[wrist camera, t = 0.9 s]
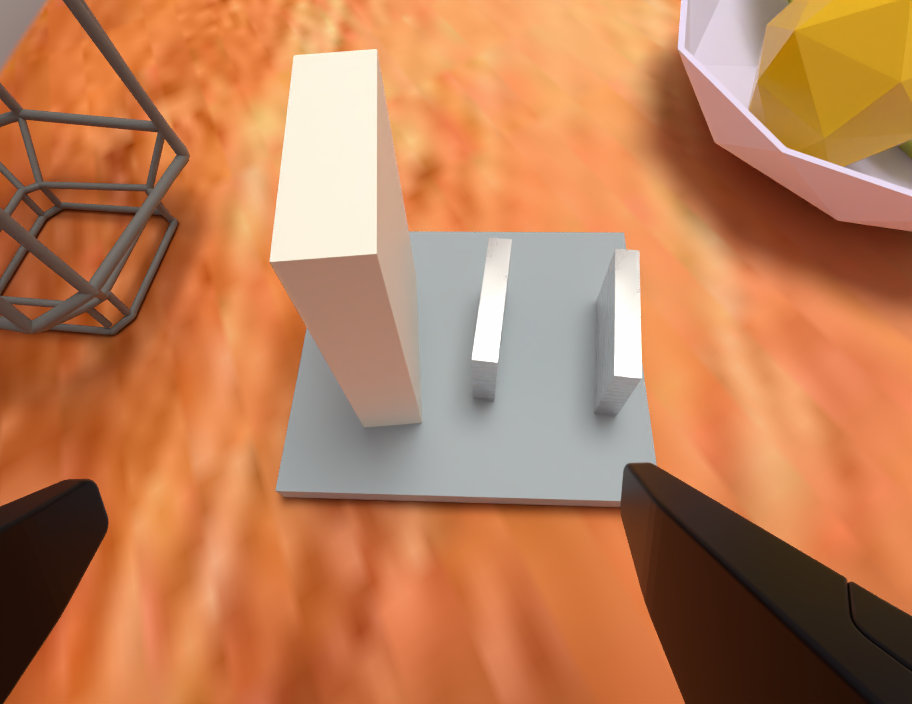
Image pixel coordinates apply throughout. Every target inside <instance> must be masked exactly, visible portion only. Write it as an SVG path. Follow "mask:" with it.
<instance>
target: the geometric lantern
mask: <svg viewBox="0 0 912 704" xmlns="http://www.w3.org/2000/svg"><path fill="white" fill-rule="evenodd" d="M63 1H64V3H65V4H66V5H67V7H68V8H69V9H70V11H71V12H72V13H73V15H74V16H75V18H76V19H77V20H78V22H79V23H80V24H81V26H82V27H83V28H84V30H85V31H86V32H87V34H88V35H89V36H90V38H91V39H92V41H93V42H94V43H95V45H96V46H97V47H98V49H99V50H100V51H101V53H102V54H103V55H104V57H105V58H106V59H107V61H108V62H109V64H110V65H111V66H112V68H113V69H114V70H115V72H116V73H117V74H118V76H119V77H120V78H121V80H122V81H123V82H124V84H125V85H126V87H127V88H128V89H129V91H130V92H131V93H132V95H133V96H134V97H135V99H136V100H137V101H138V103H139V104H140V105H141V107H142V108H143V110H144V111H145V112H146V114H147V115H148V117H149V118H150V119H151V121H146V120H135V119H124V118H113V117H102V116H91V115H80V114H69V113H59V112H48V111H37V110H26V109H23V108H22V107H21V106H20V105H19V104H18V103H17V101H16V100H15V99H14V98H13V97H12V96H11V95H10V93H9V92H8V91H7V90H6V89H5V88H4V87H3V86H2V84H1V83H0V99H1V100H2V101H3V102H4V103H5V104H6V105H7V106H8V108H9V109H10V110H11V112H7V113H4V114H1V115H0V127H2V126H5V125H8V124H11V123H14V122H17V121H18V123H19V126H20V130H21V133H22V137H23V140H24V143H25V147H26V150H27V154H28V157H29V161H30V164H31V168H32V171H33V175H34V178H35V182H36V183H34V184H31V185H28V186H24V185H23V184H22V183H21V182H20V181H19V180H18V179H17V178H16V177H15V176H14V175H13V174H12V173H11V172H10V171H9V170H8V169H7V168H6V167H5V166H4V165H3V164H2V163H1V162H0V172H1V173H2V174H3V175H4V176H5V177H6V178H7V179H8V180H9V181H10V182H11V183H12V184H13V185H14V186H15V187H16V188H17V189H18V190H17V192H16V193H15V195H14V196H13V198H12V199H11V201H10V202H9V204H8V205H7V207H6V208H5V210H3V209H1V208H0V231H1V230H2V229H3V230H4V231H5V232H6V233H7V234H9V235H10V236H11V237H12V238H14V239H15V240H16V241H17V242H18V243H20V244H21V246H20V248H19V249H18V251H17V253H16V254H15V256H14V258H13V259H12V261H11V262H10V264H9V266H8V267H7V269H6V271H5V272H4V274H3V275H2V277H1V279H0V295H1V293H2V292H3V290H4V288H5V287H6V285H7V283H8V282H9V280H10V278H11V277H12V275H13V273H14V272H15V270H16V268H17V267H18V265H19V264H20V262H21V260H22V259H23V257H24V255H25V254H26V252H27V250H28V251H29V252H31V253H32V254H33V255H34V256H36V257H37V258H38V259H39V260H41V261H42V262H43V263H44V264H46V265H47V266H48V267H49V268H51V269H52V270H53V271H54V272H56V273H57V274H58V275H59V276H61V277H62V278H63V279H64V280H65V281H67V282H68V283H69V284H70V285H72V286H73V287H74V288H75V289H77V290H78V291H79V292H78V293H76V294H75V295H73V296H72V297H70V298H68V299H67V300H65V301H60V300H47V299H34V298H21V297H8V296H0V314H1V315H2V316H0V329H5V330H11V331H16V332H22V333H27V334H35V333H38V332H44V331H46V330H59V331H70V332H82V333H93V334H104V335H110V334H111V335H115V334H116V333H118V332H119V331H120V330H121V329H122V328H124V327H125V326H126V325H127V324H128V323H130V322H131V321H132V320H133V319H134V318H135V317H136V314H137V312H138V310H139V308H140V305H141V303H142V301H143V299H144V297H145V294H146V292H147V290H148V288H149V286H150V284H151V281H152V279H153V277H154V275H155V273H156V270H157V268H158V266H159V264H160V262H161V260H162V257H163V255H164V253H165V251H166V249H167V247H168V244H169V242H170V240H171V238H172V236H173V233H174V231H175V229H176V227H177V224H178V220H177V219H175V218H174V217H173V216H172V215H171V214H170V213H169V211H168V210H167V209H166V208H165V207H164V205H163V204H162V203H161V202H160V201H161V200H162V198H163V197H164V195H165V194H166V192H167V191H168V189H169V188H170V186H171V185H172V183H173V182H174V180H175V179H176V178H177V176H178V175H179V174H180V172H181V171H182V169H183V168H184V167H185V165H186V164H187V163H188V161H189V157H190V156H189V152H188V150H187V148H186V147H185V145H184V144H183V143H182V141H181V140H180V139H179V138H178V136H177V135H176V134H175V132H174V131H173V130H172V129H171V128H170V126H169V125H168V123H167V122H166V121H165V119H164V118H163V116H162V115H161V114H160V112H159V111H158V109H157V108H156V106H155V105H154V104H153V102H152V101H151V99H150V98H149V97H148V95H147V94H146V92H145V91H144V90H143V88H142V87H141V85H140V84H139V82H138V81H137V79H136V78H135V76H134V75H133V73H132V72H131V70H130V69H129V67H128V66H127V64H126V63H125V61H124V60H123V58H122V57H121V55H120V54H119V52H118V51H117V49H116V48H115V46H114V45H113V43H112V42H111V40H110V39H109V37H108V36H107V34H106V33H105V31H104V30H103V28H102V27H101V25H100V24H99V22H98V21H97V19H96V18H95V16H94V15H93V13H92V12H91V10H90V9H89V7H88V6H87V4H86V3H85V1H84V0H63ZM26 120H34V121H44V122H55V123H65V124H76V125H86V126H97V127H107V128H118V129H128V130H139V131H149V132H158V134H157V139H156V143H155V148H154V152H153V157H152V161H151V166H150V170H149V175H148V179H147V184H146V185H143V184H109V183H75V182H43V178H42V175H41V171H40V168H39V164H38V161H37V157H36V154H35V150H34V147H33V143H32V139H31V136H30V132H29V129H28V125H27V122H26ZM164 139H165V140H166V141H167V142H168V144H169V145H170V146H171V148H172V149H173V150H174V152H175V153H176V154H177V155H176V157H175V158H174V160H173V161H172V163H171V164H170V165H169V167H168V168H167V170H166V171H165V173H164V174H163V176H162V177H161V178H160V180H159V181H158V183H157V184H156V186H155V187H154V183H155V179H156V175H157V170H158V166H159V161H160V157H161V153H162V148H163V144H164ZM49 188H51V189H84V190H116V191H145V193H146V194H147V195H148V197H147V199H146V200H145V202H144V203H143V204H142V206H141V207H128V206H112V205H97V204H81V203H66V202H62V203H61V202H60V200H59V199H58V198H57V197H56V196H55V195H54V194H53V193H52V191H51V190H50V189H49ZM153 188H154V189H153ZM39 189H41V190H42V191H43V192H44V193H45V195H46V196H47V197H48V198H49V199H50V200H51V201H52V202H53V204H54V205H55V206H54V207H52V208H51V209H49V210H47V211H46V212H44V211H43V210H42V209H41V208H40V207H39V206H38V205H37V204H36V203H35V202H34V201H33V200H32V199H31V198H30V197H29V196H28V195H27V194H28V193H31V192H34V191H36V190H39ZM21 199H22V200H23V201H24V202H25V203H26V204H27V205H28V206H29V207H30V208H31V209H32V210H33V211H34V212H35V213H36V214H37V215H38V219H37V220H36V222H35V223H34V225H33V227H32V228H31V230H30V232H28V231H27V230H26V229H25V228H23V227H22V226H21V225H20V224H19V223H18V222H16V221H15V220H14V219H13V218H12V217H11V215H12V213H13V212H14V210H15V209H16V207H17V205H18V204H19V202H20V201H21ZM63 209H78V210H93V211H108V212H123V213H136V215H135V216H134V217H133V219H132V220H131V222H130V223H129V225H128V226H127V228H126V229H125V230H124V232H123V233H122V235H121V236H120V238H119V239H118V241H117V242H116V243H115V245H114V246H113V248H112V249H111V251H110V252H109V253H108V255H107V256H106V258H105V259H104V261H103V262H102V264H101V265H100V266H99V268H98V269H97V271H96V272H95V274H94V275H93V277H92V278H91V279H90V281H89V282H87V281H86V280H85V279H84V278H83V277H81V276H80V275H79V274H78V273H77V272H75V271H74V270H73V269H72V268H71V267H69V266H68V265H67V264H66V263H65V262H64V261H62V260H61V259H60V258H59V257H58V256H56V255H55V254H54V253H53V252H52V251H50V250H49V249H48V248H47V247H46V246H44V245H43V244H42V243H41V242H40V241H38V240H37V239H36V238H35V237H36V235H37V234H38V232H39V230H40V229H41V227H42V225H43V224H44V222H45V220H47V219H48V218H50V217H51V216H53V215H55V214H56V213H58V212H60V211H61V210H63ZM152 214H154V215H162V216H163V217H165V218H166V219H167V221H168V222H170V225H169V227H168V229H167V231H166V233H165V236H164V238H163V240H162V242H161V244H160V246H159V248H158V250H157V253H156V255H155V257H154V259H153V261H152V263H151V265H150V268H149V270H148V272H147V274H146V276H145V278H144V280H143V283H142V285H141V287H140V289H139V291H138V293H137V295H136V297H135V300H134V302H133V304H132V306H131V308H130V310H129V309H128V308H127V307H126V306H125V305H124V304H123V303H122V302H121V301H120V300H119V299H118V298H117V297H116V296H115V295H114V294H113V293H112V292H111V289H112V287H113V285H114V283H115V282H116V280H117V278H118V276H119V274H120V272H121V270H122V269H123V267H124V265H125V263H126V261H127V259H128V257H129V256H130V254H131V252H132V250H133V248H134V246H135V244H136V243H137V241H138V239H139V237H140V235H141V233H142V231H143V230H144V228H145V226H146V224H147V222H148V220H149V218H150V217H151V215H152ZM100 290H101V291H100ZM94 297H95V298H94ZM106 299H108V300H109V301H110V302H111V303H112V304H113V305H114V306H115V307H116V308H117V309H118V310H119V311H121V312H122V313H123V314H124V315H126V316H125V317H124V318H123V319H121V320H120V321H119V322H118V323H117V324H115V325H114V326H113V327H112V328H109V327H111V325H112V323H111V322H110V321H109V320H108V319H107V318H105V317H104V316H103V315H102V314H100V313H99V312H98V311H97V310H96V309H94V307H96V306H97V305H99V304H100V303H102V302H103V301H105V300H106ZM11 304H16V305H29V306H42V307H54V308H52V309H51V310H49V311H48V312H46V313H44V314H43V315H41V316H40V317H38V318H36V319H34V320H30V319H29V318H28V317H26V316H25V315H24V314H23V313H21V312H20V311H19V310H18V309H16V308H15V307H14V306H13V305H11ZM85 312H87V313H88V314H90V315H91V316H92V317H93V318H94V319H96V320H97V321H98V322H99V323H101V324H102V325H103V326H104V327H94V326H82V325H71V324H61V323H63V322H66V321H68V320H70V319H72V318H74V317H76V316H78V315H80V314H83V313H85ZM105 327H106V328H105Z"/></svg>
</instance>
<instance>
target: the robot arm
mask: <svg viewBox="0 0 912 704" xmlns="http://www.w3.org/2000/svg"><path fill="white" fill-rule="evenodd" d="M620 510H621V517H622V521H623V525H624V529H625V532H626V536H627V540H628V543H629V547H630V551H631V554H632V558H633V561H634V565H635V569H636V572H637V576H638V580H639V583H640V587H641V590H642V594H643V597H644V601H645V604H646V606H647V609H648V612H649V614H650V617H651V620H652V622H653V625H654V627H655V630H656V632H657V635H658V637H659V640H660V642H661V645H662V647H663V650H664V652H665V655H666V657H667V660H668V662H669V664H670V667H671V669H672V672H673V674H674V677H675V679H676V682H677V684H678V687H679V689H680V692H681V694H682V697H683V699H684V702H685V704H912V616H911V615H909V614H907V613H905V612H904V611H902V610H900V609H898V608H897V607H895V606H893V605H891V604H890V603H888V602H886V601H884V600H883V599H881V598H879V597H878V596H876V595H874V594H873V593H871V592H869V591H867V590H866V589H864V588H862V587H861V586H859V585H857V584H856V583H854V582H849V583H848V582H847V579H846V578H845V577H844V576H842V575H840V574H839V573H837V572H835V571H833V570H832V569H830V568H828V567H827V566H825V565H823V564H822V563H820V562H818V561H817V560H815V559H813V558H811V557H810V556H808V555H806V554H805V553H803V552H801V551H800V550H798V549H796V548H795V547H793V546H791V545H789V544H788V543H786V542H784V541H783V540H781V539H779V538H778V537H776V536H774V535H773V534H771V533H769V532H767V531H766V530H764V529H762V528H761V527H759V526H757V525H756V524H754V523H752V522H751V521H749V520H747V519H745V518H744V517H742V516H740V515H739V514H737V513H735V512H734V511H732V510H730V509H729V508H727V507H725V506H723V505H722V504H720V503H718V502H717V501H715V500H713V499H712V498H710V497H708V496H707V495H705V494H703V493H701V492H700V491H698V490H696V489H695V488H693V487H691V486H690V485H688V484H686V483H685V482H683V481H681V480H679V479H678V478H676V477H674V476H673V475H671V474H669V473H668V472H666V471H664V470H663V469H661V468H659V467H658V466H656V465H654V464H652V463H649V462H640V463H627V464H626V465H625V467H624V470H623V479H622V491H621V503H620ZM107 529H108V516H107V513H106V510H105V507H104V504H103V501H102V498H101V495H100V492H99V489H98V487H97V484H96V483H95V482H94V481H92V480H90V479H68V480H64V481H61V482H58V483H56V484H54V485H51V486H49V487H46V488H44V489H42V490H39V491H37V492H34V493H32V494H30V495H27V496H25V497H22V498H20V499H18V500H15V501H13V502H10V503H8V504H5V505H3V506H1V507H0V704H4V702H5V701H6V699H7V698H8V696H9V695H10V693H11V692H12V690H13V689H14V687H15V686H16V684H17V683H18V681H19V679H20V678H21V676H22V675H23V673H24V672H25V670H26V669H27V667H28V666H29V664H30V663H31V661H32V660H33V658H34V657H35V655H36V654H37V652H38V651H39V649H40V648H41V646H42V645H43V643H44V642H45V640H46V639H47V637H48V636H49V634H50V633H51V631H52V630H53V628H54V626H55V625H56V623H57V622H58V620H59V618H60V617H61V615H62V613H63V612H64V610H65V608H66V606H67V605H68V603H69V601H70V599H71V597H72V596H73V594H74V592H75V590H76V588H77V586H78V584H79V583H80V581H81V579H82V577H83V575H84V573H85V572H86V570H87V568H88V566H89V564H90V562H91V560H92V559H93V557H94V555H95V553H96V551H97V549H98V548H99V546H100V544H101V542H102V540H103V538H104V536H105V534H106V532H107Z"/></svg>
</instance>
